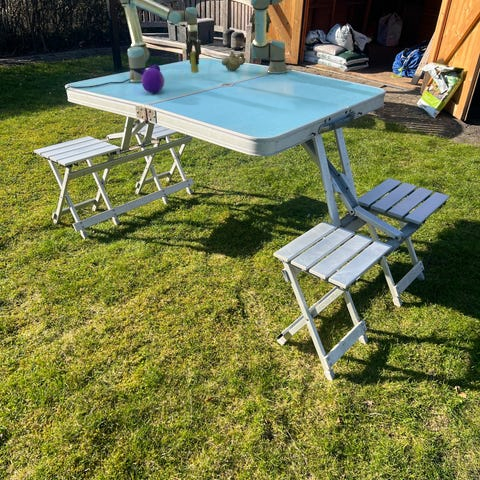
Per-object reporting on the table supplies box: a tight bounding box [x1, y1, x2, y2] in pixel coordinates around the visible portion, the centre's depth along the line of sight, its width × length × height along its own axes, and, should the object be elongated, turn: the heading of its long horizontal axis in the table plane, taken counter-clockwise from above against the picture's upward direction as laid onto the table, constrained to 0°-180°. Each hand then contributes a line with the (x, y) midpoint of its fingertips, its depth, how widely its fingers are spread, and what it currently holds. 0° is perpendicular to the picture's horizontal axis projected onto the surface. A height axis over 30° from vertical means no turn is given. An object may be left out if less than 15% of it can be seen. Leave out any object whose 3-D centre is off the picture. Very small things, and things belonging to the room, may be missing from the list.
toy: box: [134, 64, 165, 94], centre depth 304 cm, size 16×18×27 cm
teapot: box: [221, 50, 246, 72], centre depth 365 cm, size 21×12×15 cm, turn 120°
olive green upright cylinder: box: [190, 51, 200, 74], centre depth 345 cm, size 6×6×14 cm
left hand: (194, 63), depth 345 cm, fingers closed on olive green upright cylinder, 6 cm apart
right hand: (260, 32), depth 374 cm, fingers open, 13 cm apart
